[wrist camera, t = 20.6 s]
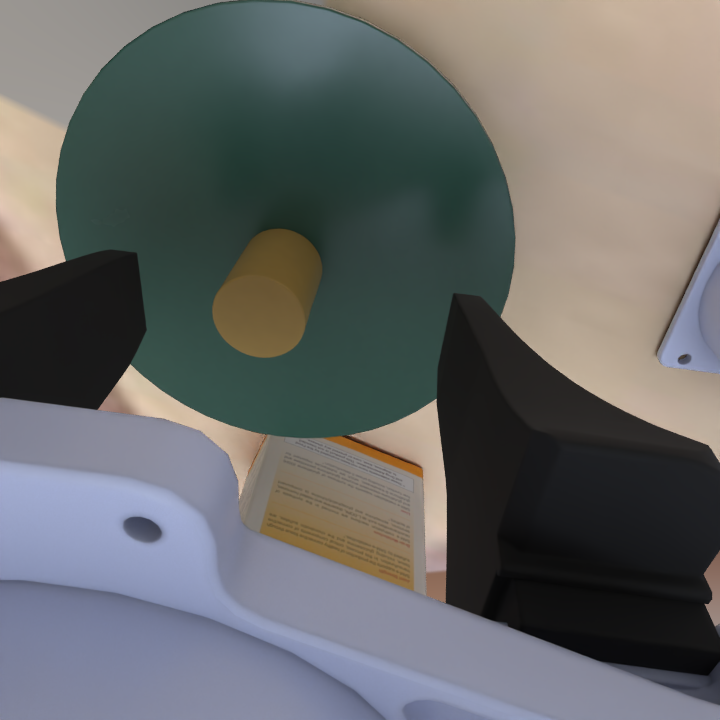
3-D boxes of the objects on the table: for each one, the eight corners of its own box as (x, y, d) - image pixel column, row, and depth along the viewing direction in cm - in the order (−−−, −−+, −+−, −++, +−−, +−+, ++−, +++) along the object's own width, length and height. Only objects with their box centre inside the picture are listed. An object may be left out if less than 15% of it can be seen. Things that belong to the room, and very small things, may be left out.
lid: (569, 33, 14) (620, 51, 11) (460, 441, 22) (469, 532, 18) (30, -35, 15) (-96, -39, 11) (106, 394, 22) (47, 475, 19)
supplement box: (247, 469, 31) (153, 739, 20) (279, 406, 28) (192, 677, 17) (386, 523, 32) (370, 803, 21) (428, 468, 30) (435, 754, 19)
